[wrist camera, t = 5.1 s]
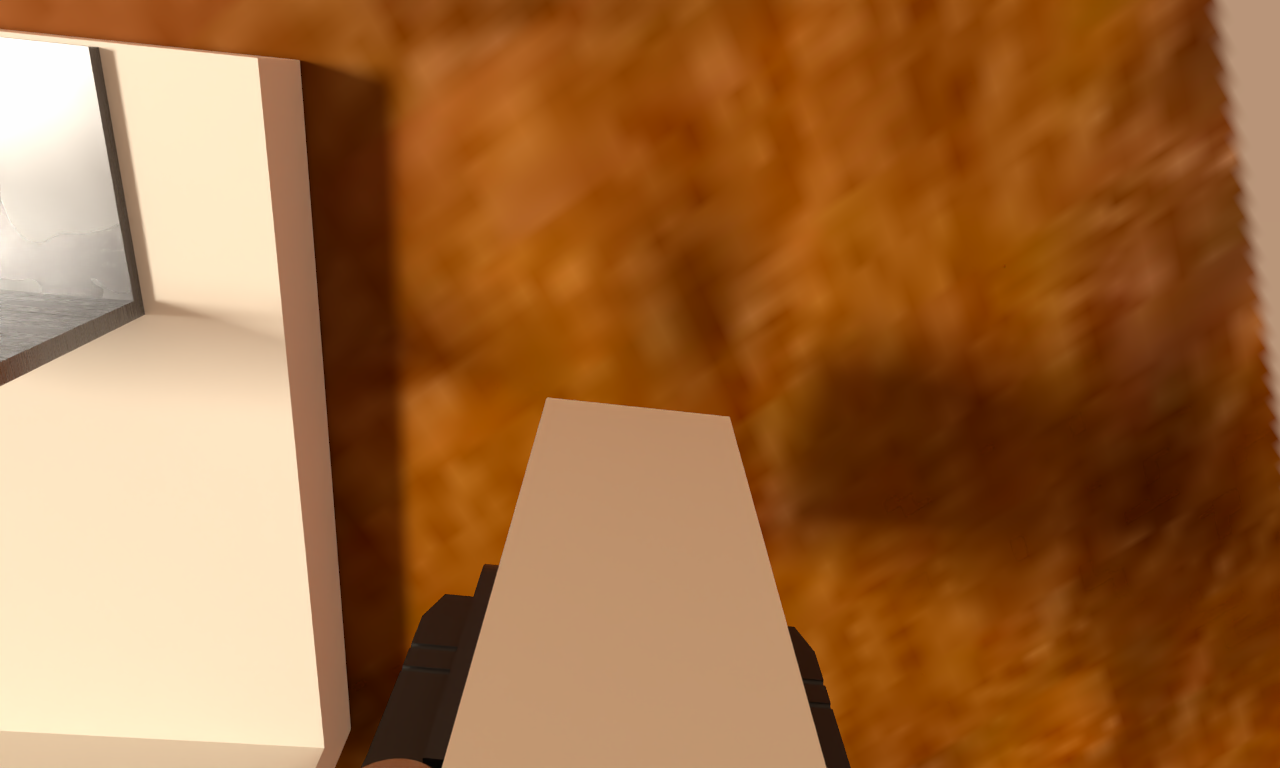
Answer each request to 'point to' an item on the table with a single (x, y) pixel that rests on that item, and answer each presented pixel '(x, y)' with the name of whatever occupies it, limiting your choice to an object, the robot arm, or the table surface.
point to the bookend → (59, 207)
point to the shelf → (182, 456)
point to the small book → (634, 608)
